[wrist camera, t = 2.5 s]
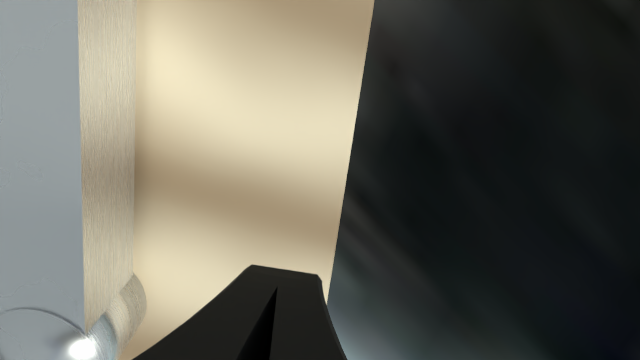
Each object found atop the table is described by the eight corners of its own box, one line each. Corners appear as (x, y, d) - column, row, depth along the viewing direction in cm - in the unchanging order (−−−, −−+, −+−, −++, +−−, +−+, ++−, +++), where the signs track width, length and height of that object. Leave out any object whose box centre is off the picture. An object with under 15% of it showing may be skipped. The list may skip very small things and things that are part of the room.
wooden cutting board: (305, 426, 21) (295, 508, 18) (-202, 345, 21) (-305, 411, 18) (401, -183, 14) (412, -233, 11) (-355, -283, 14) (-565, -360, 11)
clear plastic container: (145, 348, 17) (90, 440, 14) (46, 333, 17) (-34, 421, 14) (156, -93, 13) (80, -120, 9) (22, -112, 13) (-101, -145, 10)
